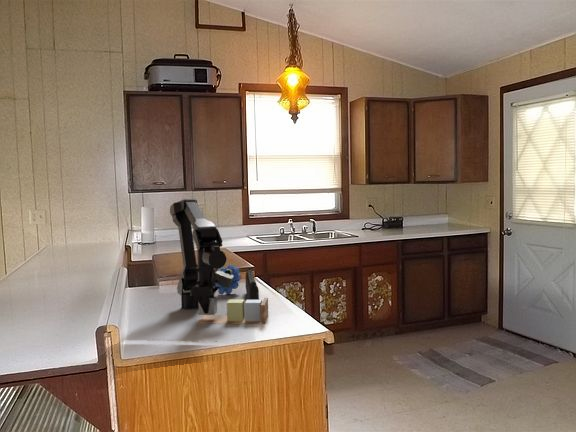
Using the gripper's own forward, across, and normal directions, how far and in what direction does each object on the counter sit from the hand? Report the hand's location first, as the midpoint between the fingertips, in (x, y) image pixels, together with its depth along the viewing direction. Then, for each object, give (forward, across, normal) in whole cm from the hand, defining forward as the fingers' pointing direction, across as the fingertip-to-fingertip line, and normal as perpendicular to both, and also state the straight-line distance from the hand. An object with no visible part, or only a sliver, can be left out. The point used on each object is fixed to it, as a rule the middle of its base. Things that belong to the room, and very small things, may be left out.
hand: (208, 311), depth 152 cm
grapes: (+4, +39, +2) cm, 39 cm away
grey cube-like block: (+1, 0, 0) cm, 1 cm away
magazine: (+4, +26, -10) cm, 28 cm away
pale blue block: (+3, 0, -15) cm, 15 cm away
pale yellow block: (+3, 0, -9) cm, 10 cm away
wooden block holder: (+4, 0, -8) cm, 9 cm away
